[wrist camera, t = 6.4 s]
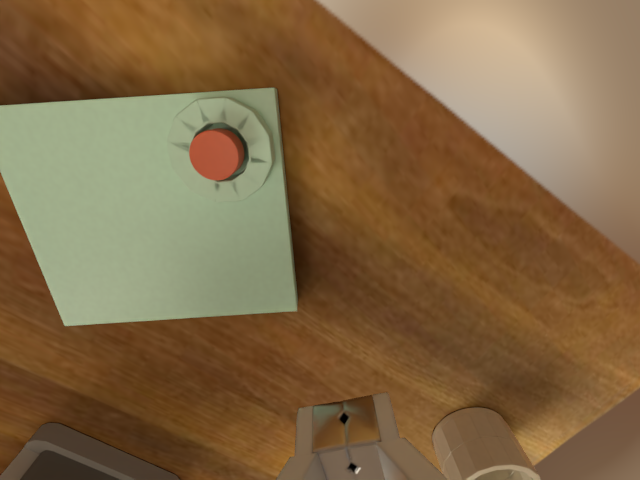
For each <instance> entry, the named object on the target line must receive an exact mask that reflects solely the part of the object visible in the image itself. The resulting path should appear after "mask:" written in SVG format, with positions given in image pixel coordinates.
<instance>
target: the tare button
mask: <svg viewBox="0 0 640 480" xmlns="http://www.w3.org/2000/svg"><path fill="white" fill-rule="evenodd" d="M244 155H245V153H244V147H243V144H242V142H241V141H240V139H239V138H238V137H237V136H236V135H235V134H234V133H233V132H231V131H229V130H227V129H222V128H216V129H211V130H207V131H203V132H201V133H199V134H198V135H197V136H196V137H195V138H194V139H193V140H192V142H191V144H190V148H189V157H190V161H191V163H192V165H193V167H194V168H195V170H196V171H197V172H198V173H199V174H200V175H202V176H203V177H205V178H207V179H210V180H224V179H226V178H228V177H230V176H231V175H232V174H233V173H235V172H236V171H237V170H238V169H239V168H240V167H241V165H242V163H243V161H244Z"/></svg>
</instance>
